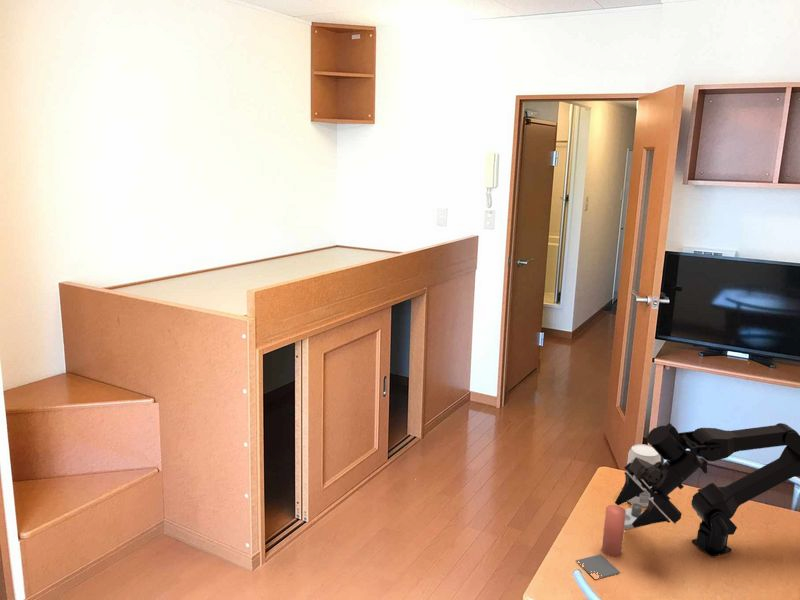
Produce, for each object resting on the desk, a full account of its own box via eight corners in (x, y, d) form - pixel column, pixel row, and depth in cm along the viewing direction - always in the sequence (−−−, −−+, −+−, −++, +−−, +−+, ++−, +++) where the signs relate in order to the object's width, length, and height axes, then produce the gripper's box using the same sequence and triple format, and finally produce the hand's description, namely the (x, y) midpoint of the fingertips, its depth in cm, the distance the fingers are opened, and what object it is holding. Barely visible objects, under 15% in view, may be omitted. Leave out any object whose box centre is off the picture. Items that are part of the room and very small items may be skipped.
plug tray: (634, 511, 171) (636, 498, 170) (650, 523, 166) (652, 510, 165) (609, 516, 168) (611, 504, 167) (625, 529, 163) (626, 516, 162)
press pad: (600, 555, 153) (600, 554, 153) (620, 573, 146) (620, 572, 146) (575, 561, 150) (576, 560, 150) (594, 580, 144) (594, 579, 144)
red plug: (612, 543, 157) (617, 503, 154) (625, 554, 153) (629, 513, 150) (598, 547, 156) (602, 506, 153) (609, 558, 152) (614, 516, 149)
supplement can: (617, 494, 179) (622, 445, 175) (642, 490, 181) (648, 441, 178) (636, 510, 171) (642, 459, 168) (661, 505, 174) (668, 455, 170)
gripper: (636, 431, 158) (588, 473, 159) (675, 469, 140) (620, 516, 141) (662, 460, 160) (615, 501, 162) (704, 500, 142) (650, 546, 144)
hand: (624, 514), depth 152 cm, fingers open, 9 cm apart
